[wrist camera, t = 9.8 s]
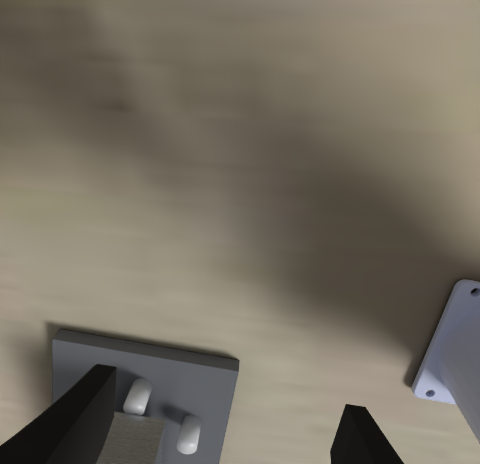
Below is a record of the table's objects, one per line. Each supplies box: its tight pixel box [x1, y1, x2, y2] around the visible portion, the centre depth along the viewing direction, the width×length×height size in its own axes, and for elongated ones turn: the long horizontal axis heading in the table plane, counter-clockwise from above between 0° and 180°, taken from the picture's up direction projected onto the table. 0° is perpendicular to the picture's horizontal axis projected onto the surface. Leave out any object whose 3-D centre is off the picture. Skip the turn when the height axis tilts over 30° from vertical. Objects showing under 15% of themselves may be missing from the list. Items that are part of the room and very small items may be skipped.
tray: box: [52, 329, 239, 464], centre depth 26 cm, size 11×16×3 cm
